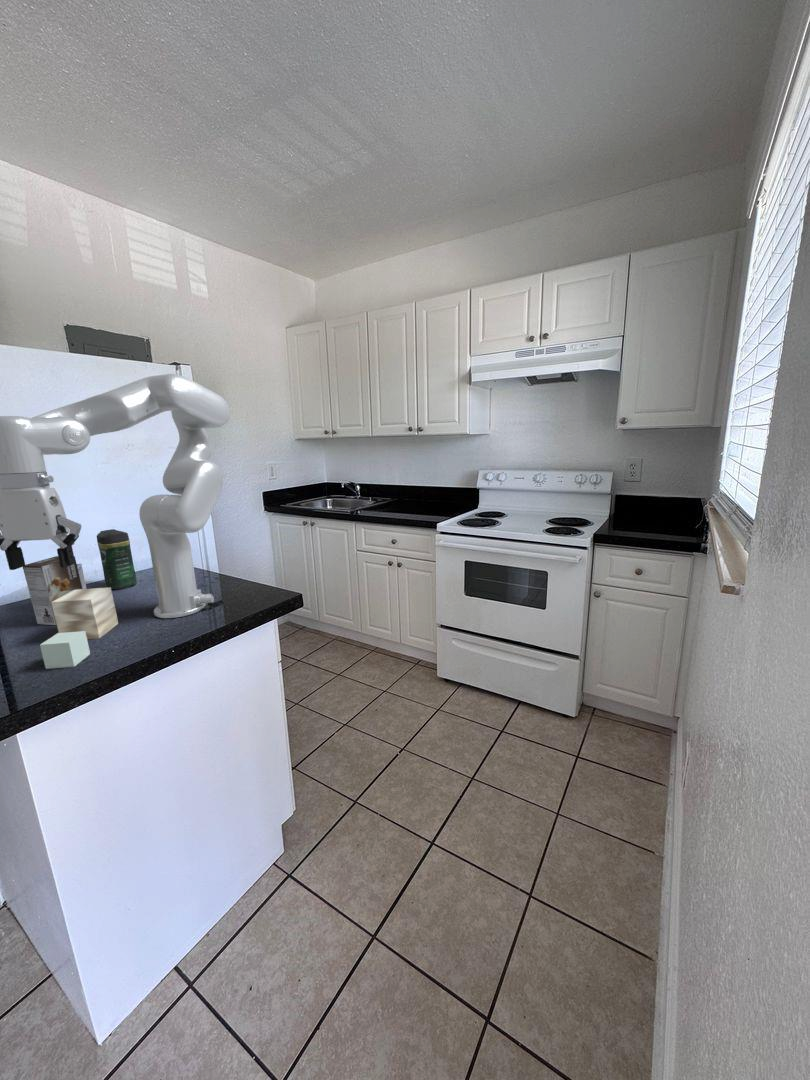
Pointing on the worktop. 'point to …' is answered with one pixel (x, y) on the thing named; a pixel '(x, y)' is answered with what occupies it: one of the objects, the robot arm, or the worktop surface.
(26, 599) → the worktop surface
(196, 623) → the worktop surface
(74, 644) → the sage block
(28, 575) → the coffee box
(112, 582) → the coffee jar
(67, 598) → the maple top block
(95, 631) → the birch base block
